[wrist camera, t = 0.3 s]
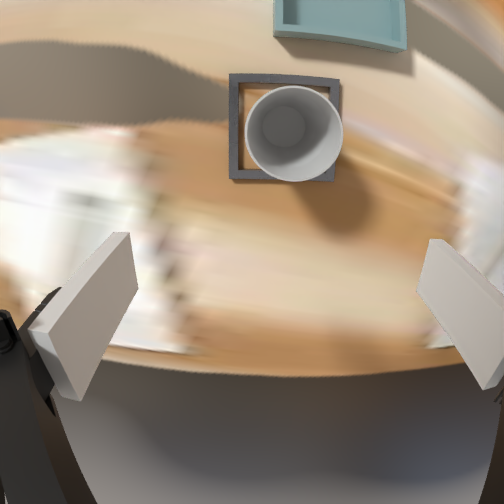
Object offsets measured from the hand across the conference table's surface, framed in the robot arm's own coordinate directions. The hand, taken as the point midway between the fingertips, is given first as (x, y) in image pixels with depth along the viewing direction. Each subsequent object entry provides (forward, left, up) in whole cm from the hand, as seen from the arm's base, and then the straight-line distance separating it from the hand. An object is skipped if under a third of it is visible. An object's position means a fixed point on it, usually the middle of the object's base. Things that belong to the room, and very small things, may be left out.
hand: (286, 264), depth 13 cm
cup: (-4, +2, -25) cm, 25 cm away
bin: (-22, +8, -24) cm, 34 cm away
